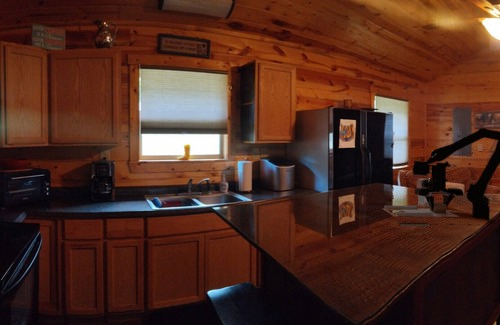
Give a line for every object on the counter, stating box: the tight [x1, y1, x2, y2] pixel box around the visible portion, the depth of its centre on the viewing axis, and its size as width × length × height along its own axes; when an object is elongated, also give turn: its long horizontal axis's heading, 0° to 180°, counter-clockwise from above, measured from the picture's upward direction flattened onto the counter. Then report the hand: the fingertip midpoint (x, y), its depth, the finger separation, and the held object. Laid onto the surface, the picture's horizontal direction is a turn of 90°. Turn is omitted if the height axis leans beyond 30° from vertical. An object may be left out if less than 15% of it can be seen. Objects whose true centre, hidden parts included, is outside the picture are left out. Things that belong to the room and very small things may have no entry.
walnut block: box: [428, 202, 448, 213], centre depth 147 cm, size 5×5×4 cm
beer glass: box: [416, 177, 430, 208], centre depth 162 cm, size 7×7×15 cm
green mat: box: [396, 222, 430, 227], centre depth 134 cm, size 11×11×1 cm
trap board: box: [382, 205, 461, 218], centre depth 148 cm, size 17×27×3 cm, turn 85°
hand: (438, 210), depth 147 cm, fingers closed on walnut block, 5 cm apart
